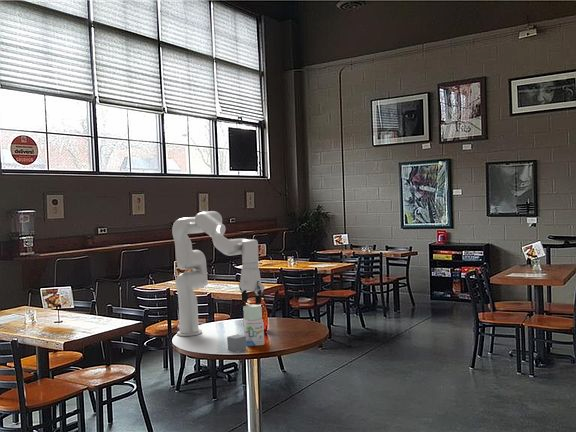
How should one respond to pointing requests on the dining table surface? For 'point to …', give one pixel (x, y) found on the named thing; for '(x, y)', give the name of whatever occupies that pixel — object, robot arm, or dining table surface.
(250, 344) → the ink box
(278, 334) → the dining table surface
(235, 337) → the slate block
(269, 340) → the dining table surface
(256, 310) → the sage block
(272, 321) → the dining table surface
